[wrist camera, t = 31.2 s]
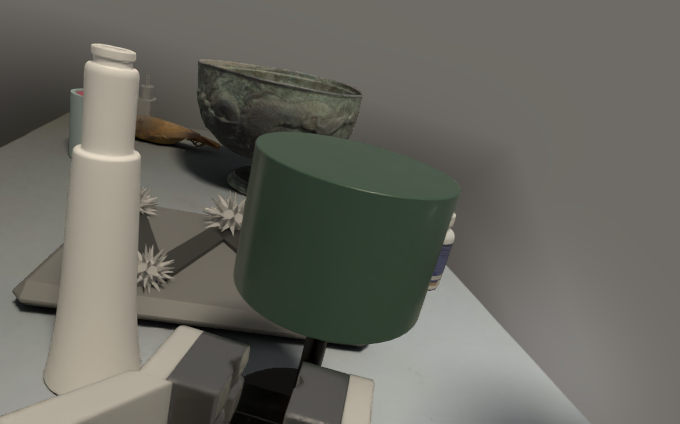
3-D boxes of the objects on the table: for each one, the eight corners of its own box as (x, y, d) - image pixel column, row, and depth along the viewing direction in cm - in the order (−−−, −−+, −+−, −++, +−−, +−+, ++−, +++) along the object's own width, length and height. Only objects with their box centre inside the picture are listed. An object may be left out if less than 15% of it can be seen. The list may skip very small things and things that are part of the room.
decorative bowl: (371, 214, 76) (398, 95, 70) (232, 225, 60) (250, 72, 54) (289, 169, 95) (304, 71, 89) (166, 168, 79) (174, 49, 73)
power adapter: (155, 131, 96) (160, 75, 92) (147, 136, 91) (152, 76, 87) (140, 128, 96) (144, 71, 92) (131, 133, 91) (136, 73, 87)
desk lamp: (345, 616, 21) (484, 239, 15) (148, 552, 22) (198, 162, 15) (367, 416, 34) (449, 161, 27) (240, 379, 34) (290, 121, 28)
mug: (124, 169, 71) (128, 106, 67) (58, 158, 68) (60, 93, 65) (144, 149, 83) (149, 94, 80) (90, 139, 81) (92, 83, 78)
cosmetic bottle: (31, 403, 28) (32, 36, 21) (56, 342, 33) (64, 32, 26) (136, 399, 30) (170, 65, 23) (144, 342, 36) (174, 55, 28)
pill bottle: (436, 276, 60) (459, 209, 57) (439, 295, 55) (465, 223, 52) (397, 265, 60) (417, 198, 57) (397, 284, 55) (419, 211, 52)
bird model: (112, 131, 89) (113, 106, 87) (220, 151, 94) (223, 127, 92) (102, 137, 84) (103, 111, 82) (217, 158, 88) (221, 133, 87)
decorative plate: (5, 314, 35) (3, 231, 33) (106, 214, 55) (110, 158, 52) (373, 357, 40) (394, 289, 38) (343, 252, 60) (356, 203, 58)
